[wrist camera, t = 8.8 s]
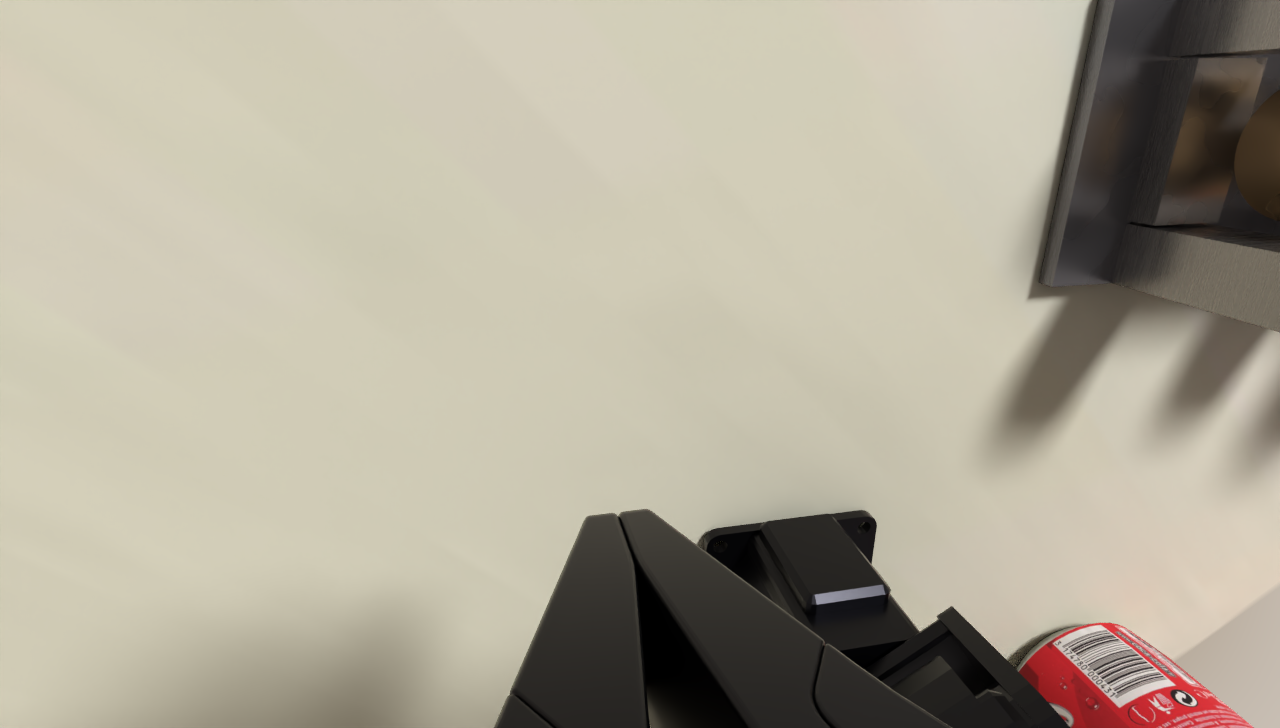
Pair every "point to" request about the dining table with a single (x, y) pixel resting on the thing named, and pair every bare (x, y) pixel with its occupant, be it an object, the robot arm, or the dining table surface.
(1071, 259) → the grey holder rack
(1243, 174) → the tube
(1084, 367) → the dining table surface
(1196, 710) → the soda can
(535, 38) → the dining table surface
